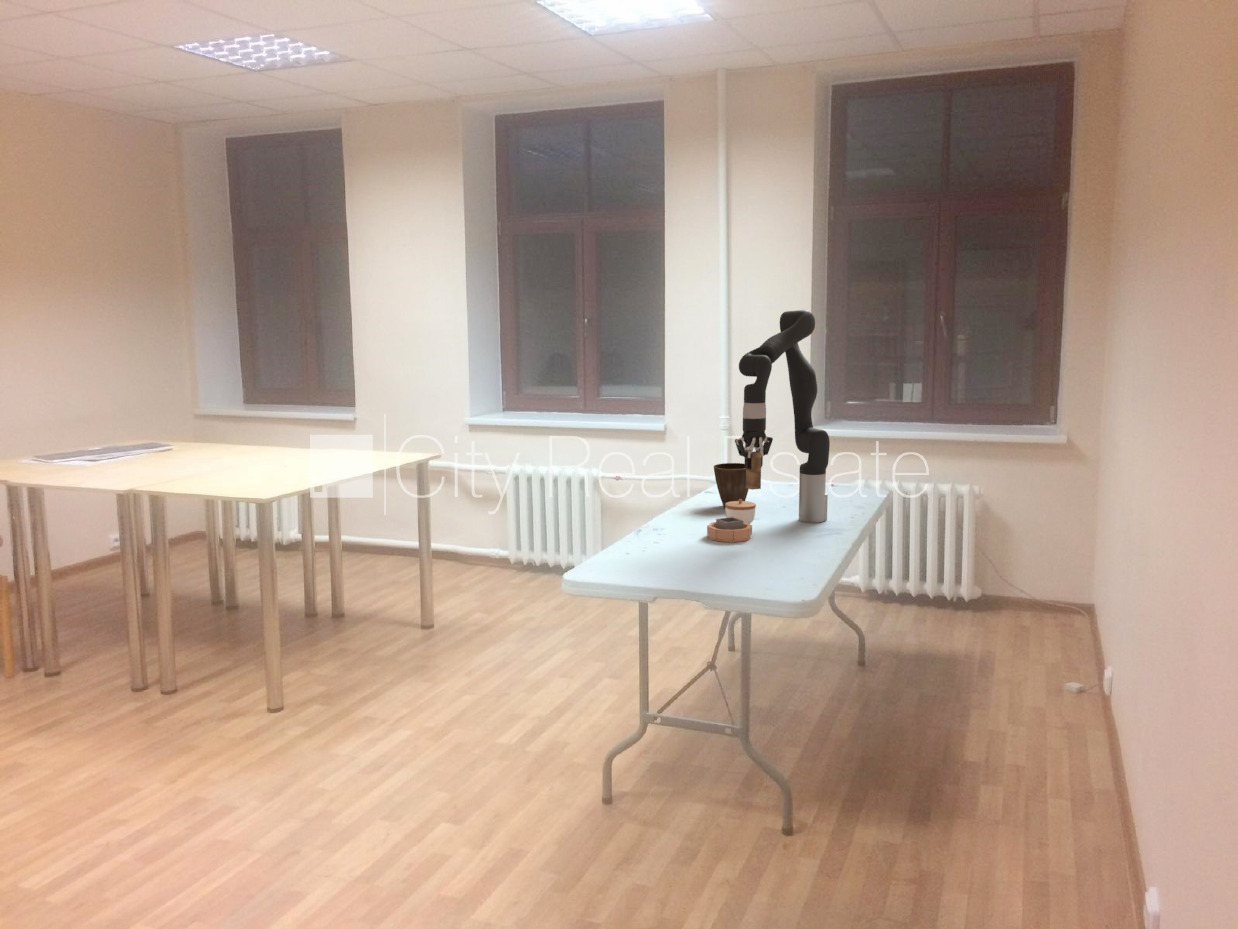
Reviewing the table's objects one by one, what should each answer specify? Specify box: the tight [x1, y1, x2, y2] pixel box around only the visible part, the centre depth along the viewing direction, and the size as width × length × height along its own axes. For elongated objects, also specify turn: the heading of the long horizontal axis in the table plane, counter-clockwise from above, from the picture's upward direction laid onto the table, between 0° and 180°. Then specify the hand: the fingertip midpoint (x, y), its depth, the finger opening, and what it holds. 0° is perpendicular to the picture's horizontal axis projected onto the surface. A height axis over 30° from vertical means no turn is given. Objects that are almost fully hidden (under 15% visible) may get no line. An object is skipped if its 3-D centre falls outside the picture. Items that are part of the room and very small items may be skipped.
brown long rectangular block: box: [746, 450, 762, 491], centre depth 319 cm, size 4×4×12 cm
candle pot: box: [706, 517, 753, 543], centre depth 323 cm, size 14×14×6 cm
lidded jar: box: [724, 499, 757, 525], centre depth 341 cm, size 11×11×9 cm
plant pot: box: [713, 462, 750, 508], centre depth 373 cm, size 15×15×16 cm
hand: (753, 468), depth 319 cm, fingers closed on brown long rectangular block, 3 cm apart
